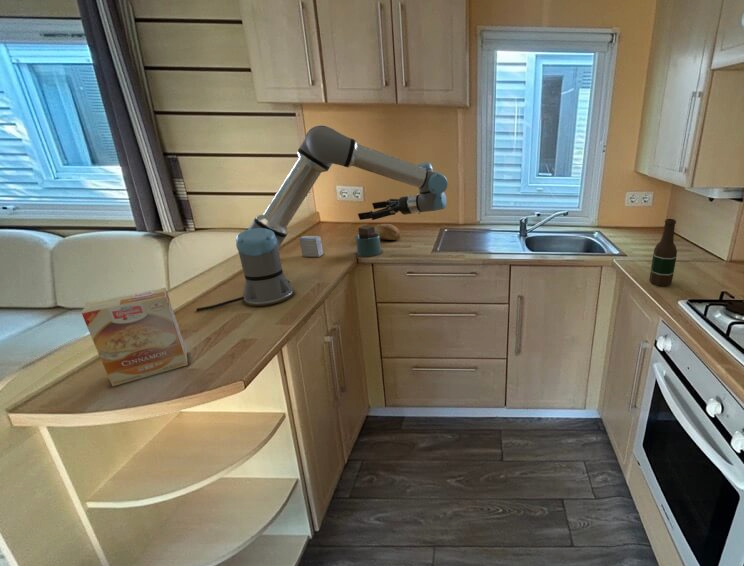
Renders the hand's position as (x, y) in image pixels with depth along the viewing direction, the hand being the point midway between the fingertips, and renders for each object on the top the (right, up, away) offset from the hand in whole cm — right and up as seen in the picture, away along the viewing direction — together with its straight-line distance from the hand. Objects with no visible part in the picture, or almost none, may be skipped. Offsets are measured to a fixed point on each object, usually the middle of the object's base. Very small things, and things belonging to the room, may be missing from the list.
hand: (366, 211), depth 177 cm
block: (-2, -11, +8) cm, 13 cm away
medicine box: (-27, -19, +8) cm, 34 cm away
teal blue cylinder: (-2, -18, +10) cm, 20 cm away
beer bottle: (+117, -31, -26) cm, 124 cm away
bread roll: (+2, -10, +31) cm, 32 cm away
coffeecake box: (-32, -53, -75) cm, 97 cm away
